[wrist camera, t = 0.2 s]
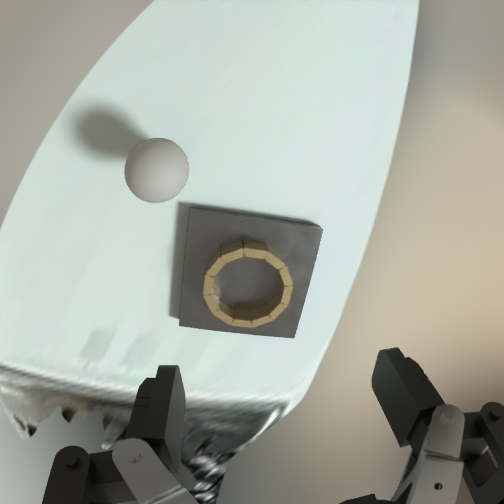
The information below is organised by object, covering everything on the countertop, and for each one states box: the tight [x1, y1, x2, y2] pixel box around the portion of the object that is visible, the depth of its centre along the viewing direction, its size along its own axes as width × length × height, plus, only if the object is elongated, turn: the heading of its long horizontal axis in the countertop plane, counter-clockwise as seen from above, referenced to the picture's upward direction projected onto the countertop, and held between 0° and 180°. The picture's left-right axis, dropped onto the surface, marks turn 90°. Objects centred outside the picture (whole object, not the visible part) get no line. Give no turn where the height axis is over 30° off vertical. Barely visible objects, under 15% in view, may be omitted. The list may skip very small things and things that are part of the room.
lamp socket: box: [179, 207, 323, 338], centre depth 39 cm, size 16×16×4 cm
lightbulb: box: [124, 138, 189, 203], centre depth 30 cm, size 6×6×11 cm
